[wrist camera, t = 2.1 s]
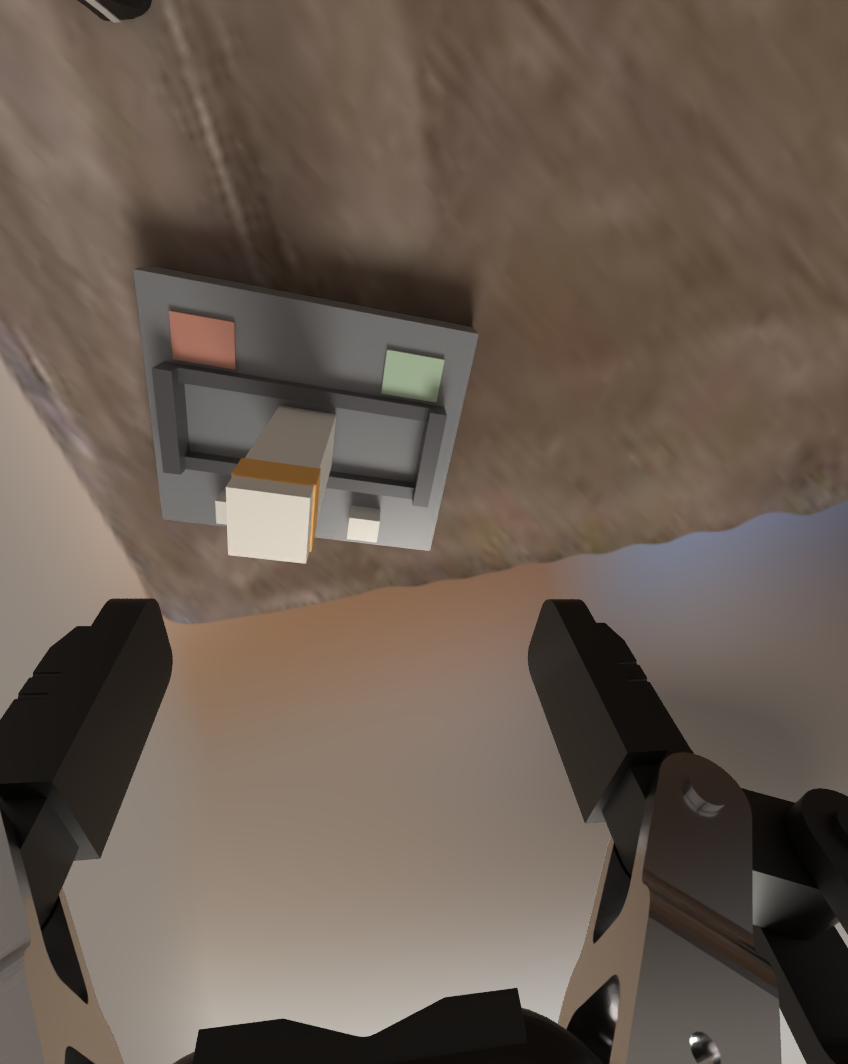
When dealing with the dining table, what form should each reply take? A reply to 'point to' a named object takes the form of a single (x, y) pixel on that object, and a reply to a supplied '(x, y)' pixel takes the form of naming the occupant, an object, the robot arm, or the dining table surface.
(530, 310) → the dining table surface
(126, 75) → the dining table surface
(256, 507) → the orange-banded white pillar
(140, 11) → the battery charger
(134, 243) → the dining table surface
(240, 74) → the dining table surface
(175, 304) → the board
